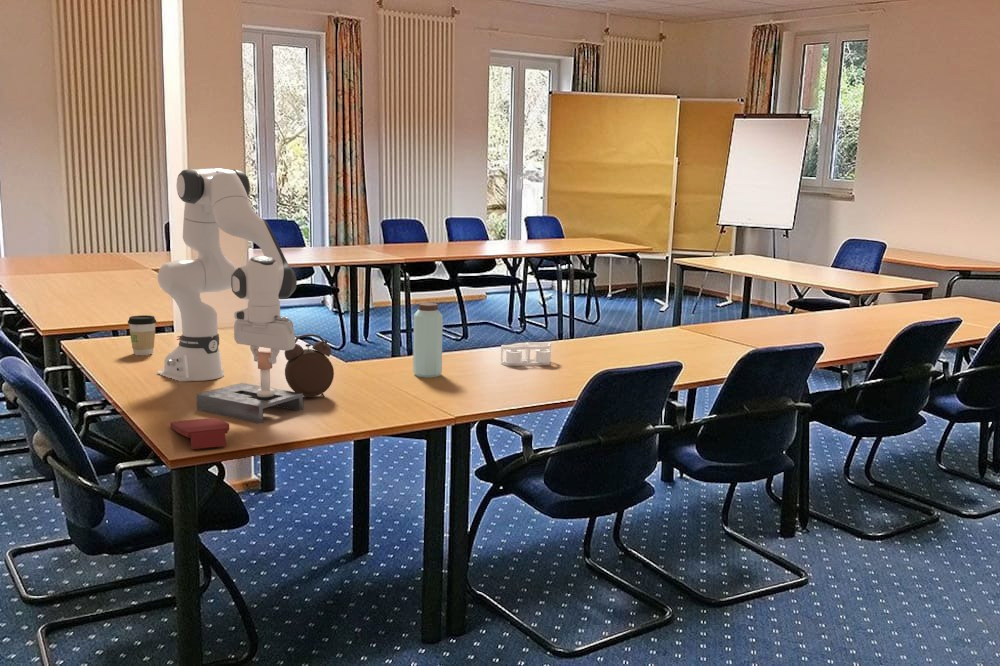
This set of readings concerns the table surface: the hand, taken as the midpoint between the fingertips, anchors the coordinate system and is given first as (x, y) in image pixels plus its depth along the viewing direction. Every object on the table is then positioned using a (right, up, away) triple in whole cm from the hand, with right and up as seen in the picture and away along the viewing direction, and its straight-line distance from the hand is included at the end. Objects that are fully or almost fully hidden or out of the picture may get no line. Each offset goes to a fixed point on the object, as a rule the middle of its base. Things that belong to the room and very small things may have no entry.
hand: (265, 362), depth 264 cm
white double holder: (+77, -4, +81) cm, 112 cm away
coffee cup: (-63, -1, +74) cm, 97 cm away
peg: (0, -9, +2) cm, 10 cm away
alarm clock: (+8, -12, +22) cm, 26 cm away
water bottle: (+42, -7, +58) cm, 71 cm away
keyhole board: (-6, -14, +6) cm, 16 cm away
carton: (-17, -18, -10) cm, 27 cm away
